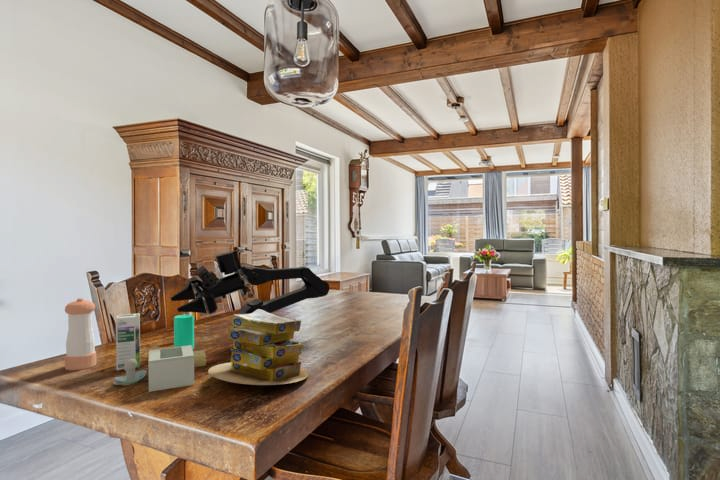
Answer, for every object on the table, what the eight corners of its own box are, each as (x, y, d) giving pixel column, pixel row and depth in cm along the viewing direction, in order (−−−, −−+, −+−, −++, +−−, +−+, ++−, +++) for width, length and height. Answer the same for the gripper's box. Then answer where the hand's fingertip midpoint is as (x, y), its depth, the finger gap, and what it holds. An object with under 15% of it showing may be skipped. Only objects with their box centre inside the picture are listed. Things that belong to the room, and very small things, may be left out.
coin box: (191, 371, 108) (191, 345, 107) (194, 384, 99) (194, 355, 99) (149, 377, 103) (149, 350, 103) (148, 391, 94) (148, 361, 94)
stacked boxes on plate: (269, 357, 120) (269, 302, 120) (327, 376, 104) (327, 313, 104) (190, 380, 102) (189, 315, 101) (246, 408, 86) (245, 331, 85)
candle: (186, 351, 126) (186, 313, 126) (170, 350, 127) (169, 312, 127) (198, 346, 132) (197, 310, 132) (181, 345, 133) (181, 309, 133)
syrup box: (115, 371, 108) (115, 317, 108) (117, 364, 114) (117, 313, 113) (139, 367, 111) (139, 315, 111) (140, 361, 116) (140, 312, 116)
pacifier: (107, 385, 99) (119, 390, 96) (106, 360, 99) (118, 364, 96) (137, 376, 105) (149, 380, 102) (137, 352, 105) (149, 356, 102)
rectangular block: (203, 360, 118) (203, 350, 118) (206, 366, 113) (206, 355, 113) (192, 361, 117) (192, 351, 117) (194, 367, 112) (193, 357, 112)
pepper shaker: (68, 363, 114) (68, 297, 114) (98, 360, 117) (98, 295, 117) (61, 372, 107) (60, 301, 107) (93, 368, 110) (92, 299, 110)
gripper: (210, 256, 133) (160, 271, 125) (228, 271, 118) (173, 290, 110) (218, 285, 137) (170, 302, 129) (236, 304, 122) (184, 325, 114)
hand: (174, 304), depth 120 cm, fingers open, 9 cm apart
